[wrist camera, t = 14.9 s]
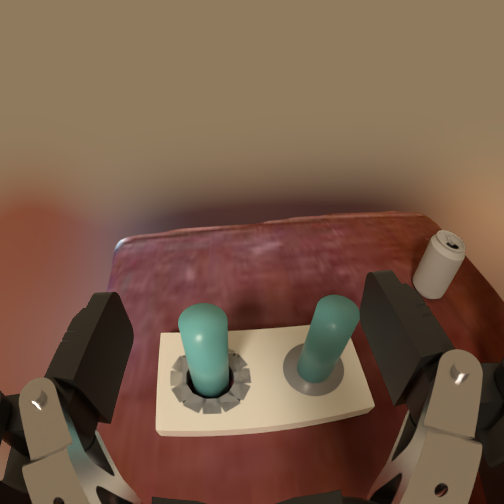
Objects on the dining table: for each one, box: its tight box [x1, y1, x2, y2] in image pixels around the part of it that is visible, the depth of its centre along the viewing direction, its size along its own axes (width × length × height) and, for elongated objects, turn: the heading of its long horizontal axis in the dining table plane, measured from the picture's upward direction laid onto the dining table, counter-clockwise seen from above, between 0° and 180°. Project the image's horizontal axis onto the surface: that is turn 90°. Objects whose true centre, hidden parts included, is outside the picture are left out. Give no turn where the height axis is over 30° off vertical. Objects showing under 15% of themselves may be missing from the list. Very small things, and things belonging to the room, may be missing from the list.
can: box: [413, 230, 465, 299], centre depth 47 cm, size 8×8×12 cm
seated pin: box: [297, 295, 360, 383], centre depth 32 cm, size 4×4×14 cm
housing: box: [156, 325, 375, 436], centre depth 35 cm, size 14×26×3 cm, turn 97°
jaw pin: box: [178, 303, 229, 399], centre depth 31 cm, size 4×4×14 cm
